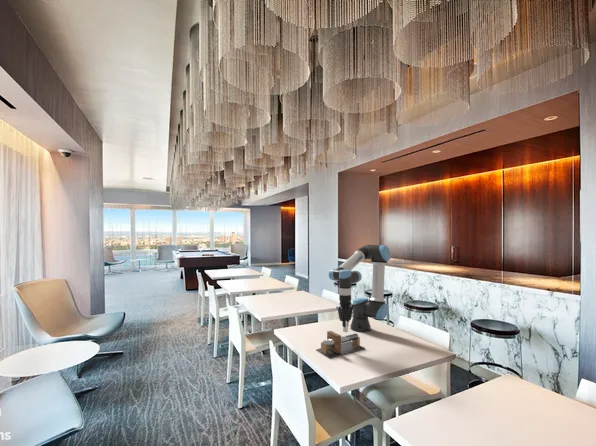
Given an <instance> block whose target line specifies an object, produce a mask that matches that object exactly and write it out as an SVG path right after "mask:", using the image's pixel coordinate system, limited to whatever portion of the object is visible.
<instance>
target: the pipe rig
mask: <svg viewBox="0 0 596 446" xmlns="http://www.w3.org/2000/svg"><path fill="white" fill-rule="evenodd" d="M331 345H332V346H333V345H335V339H333V338H332V339H329V340H327V339H325V340H323V341H322V342H320V347H319V348H317V349H315V351H316V352H319V353H320V354H322V355H323V356H325V357H327V358H328V359H334V358H337V357H340V356H345V355H349V354H352V353H356V352H360V351H364V350H366V347H364V346H362V345H361V337H360V336H359V334H358V333H352V334H348V335H343V336H341V352H340V353H336V352H334V351H332V350H330V349H329V346H331Z"/></svg>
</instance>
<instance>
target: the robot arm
mask: <svg viewBox="0 0 596 446" xmlns="http://www.w3.org/2000/svg"><path fill="white" fill-rule="evenodd" d="M366 260H370V263H371V264H372V278H371V280H372V281H371V283H372V284H371V297H370V298H368V297H357V298H354V299H352V284H356V283H358V282H361V281H362V276H363V275H362V273H361V272H360V271H359V270H353V269H355V268H356V266H357V265H359V264H360V263H362V262H364V261H366ZM390 260H391V250H390V248H389V247H388V245H382V244H365V245H363V246H361V247H359V248H358V249H356V250H355V251H354V252H353V254H352V255H351V256H349V258H348V259H346V260H345V261H344V262H343V263H342V264H340V265H339V266H338V267H337V268H334V269H333V268H332V269H330V270H329V272H328V277H329V279H330V280H331V281H337V282H339V283H338V285H339V286H338V290H339V291H338V292H339V295H338V296H339V297H338V298H339V299H338V300H339V303H338V304H339V305H337V306H336V310H337V315H338V318H339V321H341V322H342V323H341V324H342V325H341V326H342V327H343V329H342V330H343V331H342V332H344V333H349V328H348V327H349V323H350V321H351V323H350V329H351V331H355V332H361V333H365V332H366V333H367V332H369V331H372V330H371V324H370V320H369V318H373V319H376V320H384V319H386V317H387V316H388V313H389V305H388V304H387V302H386V300H385V298H384V294H385V293H384V292H385V269H386V267H385V266H386V265H388V262H389V261H390Z"/></svg>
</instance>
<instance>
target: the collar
mask: <svg viewBox="0 0 596 446" xmlns="http://www.w3.org/2000/svg"><path fill="white" fill-rule="evenodd" d="M341 337H342V335H341V334H338V333H337V332H334V331H333V330H328V331H326V340H329V339H332V338H333V339H335V345H333V346H332V345H331V346H329V349H330V350H332V351H334V352H336V353H340V352H341Z"/></svg>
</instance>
